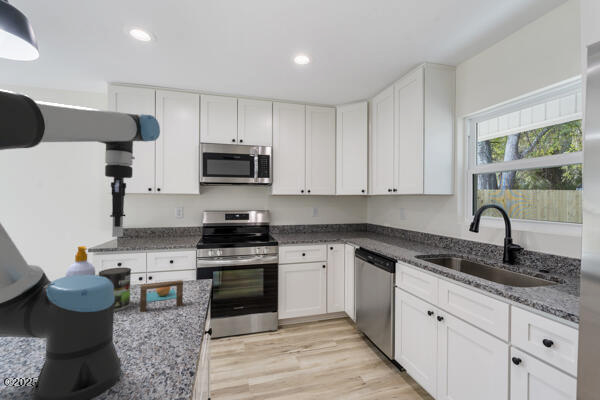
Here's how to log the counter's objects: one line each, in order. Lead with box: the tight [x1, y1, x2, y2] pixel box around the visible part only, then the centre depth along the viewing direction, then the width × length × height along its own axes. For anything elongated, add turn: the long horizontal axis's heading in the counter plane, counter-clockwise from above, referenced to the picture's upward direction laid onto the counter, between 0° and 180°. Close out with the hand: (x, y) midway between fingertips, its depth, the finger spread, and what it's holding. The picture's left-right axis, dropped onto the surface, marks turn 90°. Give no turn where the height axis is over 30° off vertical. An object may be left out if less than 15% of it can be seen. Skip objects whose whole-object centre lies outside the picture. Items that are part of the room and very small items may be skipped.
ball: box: [155, 287, 171, 296], centre depth 116 cm, size 6×6×6 cm
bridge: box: [139, 279, 184, 313], centre depth 104 cm, size 3×14×9 cm, turn 119°
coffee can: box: [98, 267, 132, 312], centre depth 103 cm, size 10×10×14 cm
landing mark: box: [146, 288, 177, 303], centre depth 116 cm, size 12×12×1 cm
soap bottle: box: [65, 245, 96, 277], centre depth 99 cm, size 9×9×24 cm
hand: (117, 236), depth 88 cm, fingers closed
